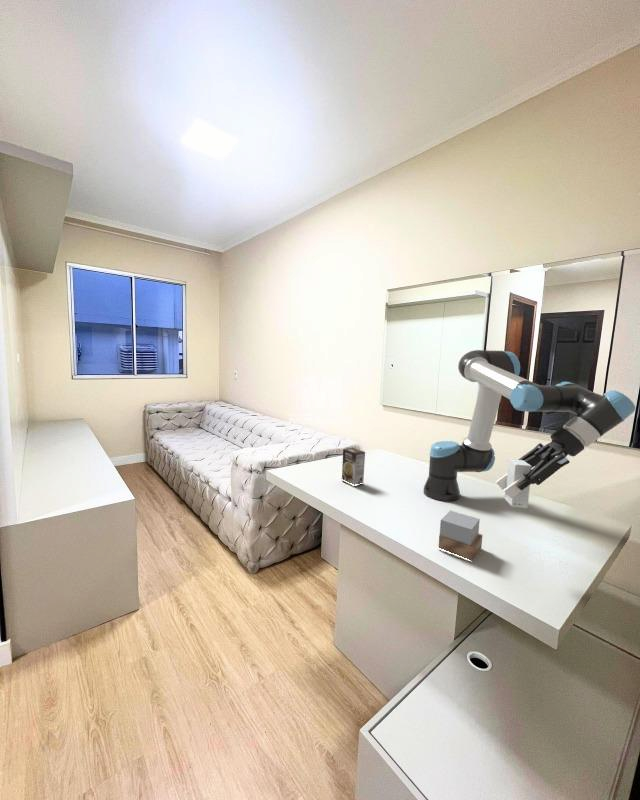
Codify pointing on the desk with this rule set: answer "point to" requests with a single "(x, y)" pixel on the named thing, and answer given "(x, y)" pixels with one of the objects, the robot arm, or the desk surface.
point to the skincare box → (514, 473)
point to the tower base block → (461, 547)
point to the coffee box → (353, 465)
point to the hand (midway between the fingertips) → (503, 489)
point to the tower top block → (459, 527)
